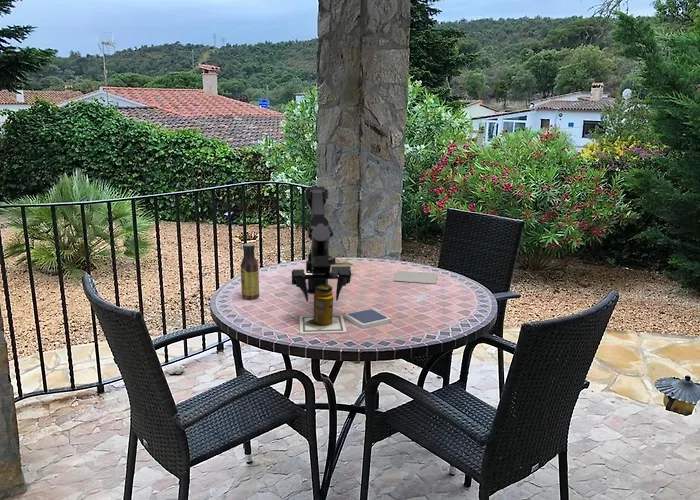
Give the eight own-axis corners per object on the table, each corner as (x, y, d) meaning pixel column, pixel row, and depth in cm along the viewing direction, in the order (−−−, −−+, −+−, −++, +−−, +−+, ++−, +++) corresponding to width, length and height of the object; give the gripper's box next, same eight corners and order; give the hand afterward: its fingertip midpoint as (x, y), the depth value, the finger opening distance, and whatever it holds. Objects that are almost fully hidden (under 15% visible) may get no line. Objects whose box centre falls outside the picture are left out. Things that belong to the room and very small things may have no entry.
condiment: (338, 322, 174) (339, 286, 171) (320, 330, 168) (321, 293, 165) (321, 316, 179) (321, 281, 176) (303, 323, 173) (303, 287, 169)
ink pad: (344, 317, 180) (344, 313, 179) (372, 311, 185) (372, 307, 185) (362, 328, 171) (362, 324, 170) (391, 322, 176) (391, 317, 176)
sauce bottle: (242, 294, 201) (240, 241, 196) (260, 294, 202) (258, 241, 197) (240, 300, 195) (238, 246, 190) (258, 300, 195) (256, 246, 190)
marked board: (299, 317, 179) (299, 315, 179) (342, 316, 181) (342, 314, 181) (300, 334, 166) (300, 332, 166) (346, 333, 167) (346, 331, 167)
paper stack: (434, 292, 207) (434, 290, 206) (369, 287, 211) (369, 286, 211) (437, 275, 229) (437, 273, 229) (377, 271, 234) (377, 269, 233)
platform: (318, 271, 232) (318, 256, 231) (361, 271, 233) (361, 256, 232) (319, 280, 221) (319, 264, 219) (363, 279, 222) (363, 264, 220)
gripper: (291, 244, 171) (291, 290, 163) (350, 244, 173) (354, 288, 165) (291, 262, 181) (292, 305, 173) (348, 261, 183) (351, 304, 175)
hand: (322, 300), depth 171 cm, fingers open, 9 cm apart
